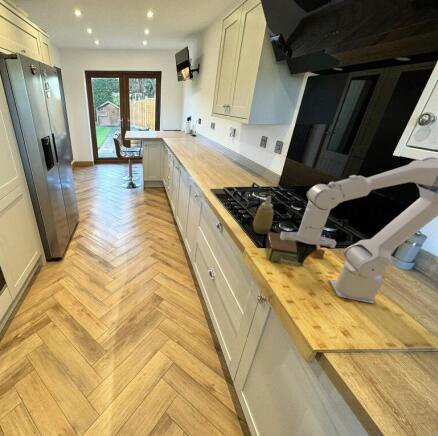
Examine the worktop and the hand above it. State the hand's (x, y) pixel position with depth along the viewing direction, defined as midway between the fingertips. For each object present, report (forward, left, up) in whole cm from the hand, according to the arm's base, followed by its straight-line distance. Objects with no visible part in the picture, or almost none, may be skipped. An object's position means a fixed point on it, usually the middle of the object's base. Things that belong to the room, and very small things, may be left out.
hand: (299, 261), depth 77 cm
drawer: (0, -15, -8) cm, 17 cm away
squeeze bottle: (+7, -36, -10) cm, 38 cm away
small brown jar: (-13, -24, -9) cm, 28 cm away
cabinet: (0, -19, -9) cm, 21 cm away
